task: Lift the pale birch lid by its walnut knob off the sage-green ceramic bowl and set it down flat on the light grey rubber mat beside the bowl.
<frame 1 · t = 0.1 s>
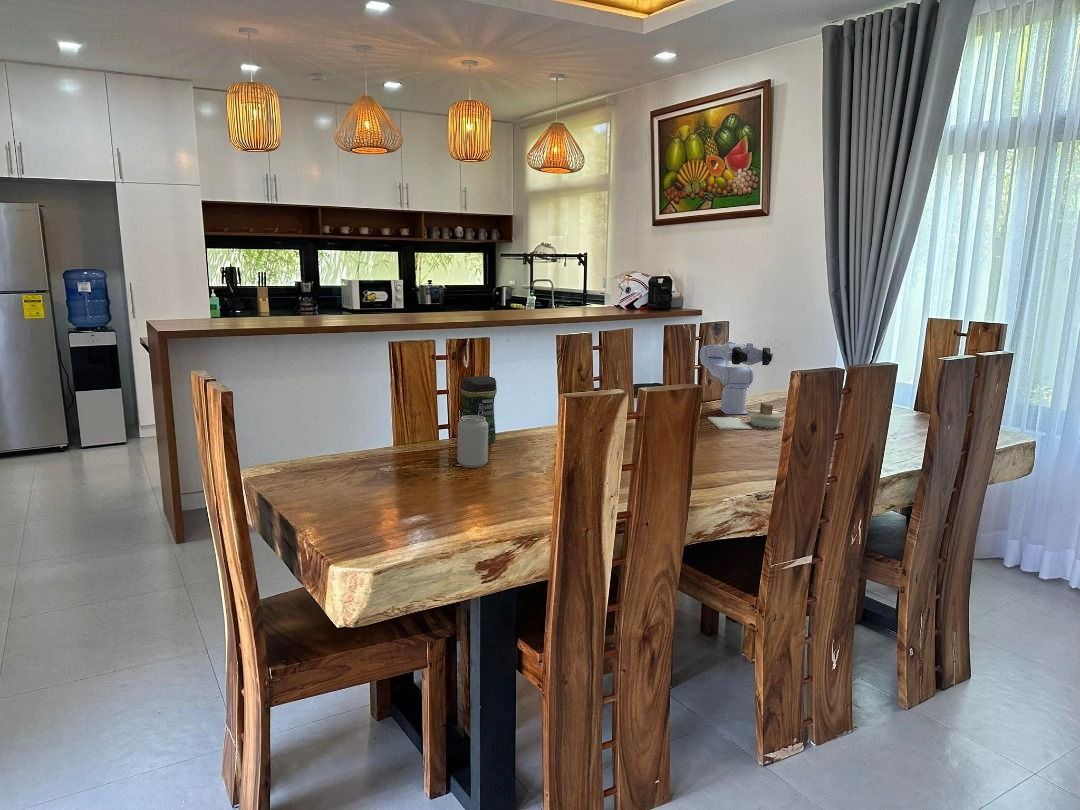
hand: (758, 357, 227), 22 cm above the table, tool horizontal, fingers open, 7 cm apart
bowl: (764, 424, 233), on the table
mat: (729, 424, 233), on the table
coffee jar: (477, 443, 202), on the table
can: (472, 465, 182), on the table
lid: (765, 415, 232), point 3 cm above the table, touching bowl
ice cream bowl: (840, 439, 218), on the table
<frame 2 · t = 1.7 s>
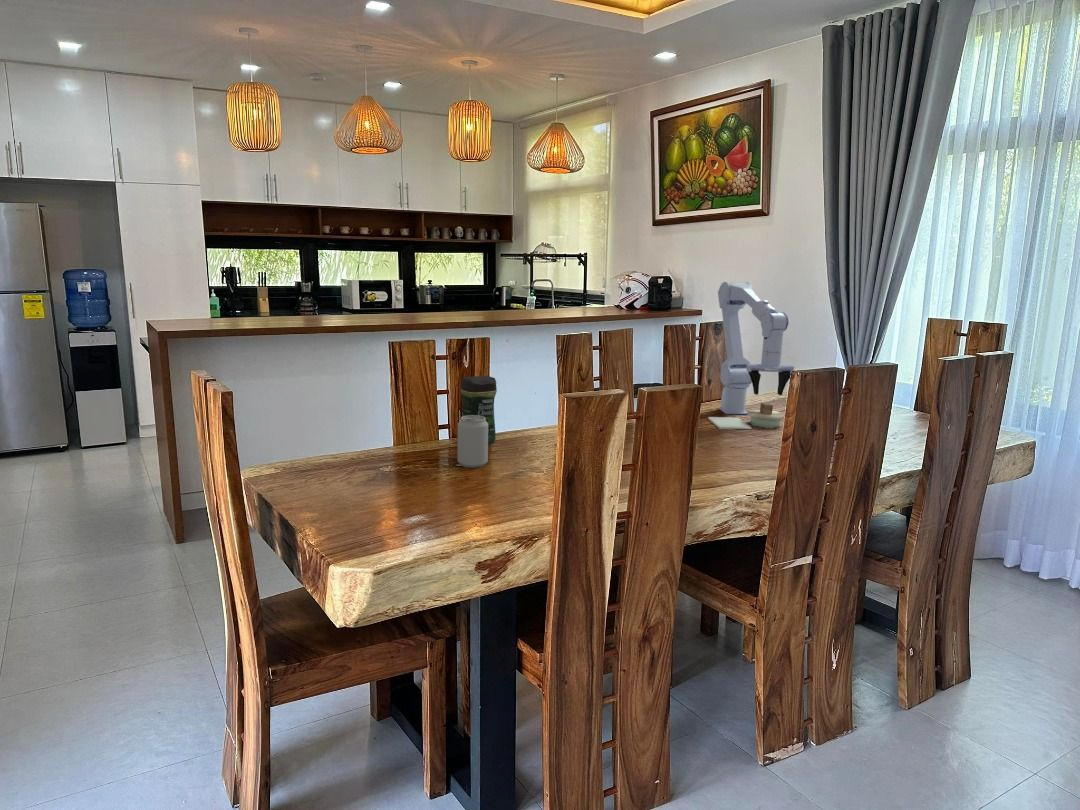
hand: (767, 394, 231), 10 cm above the table, tool pointing down, fingers open, 7 cm apart
nothing on the table moved.
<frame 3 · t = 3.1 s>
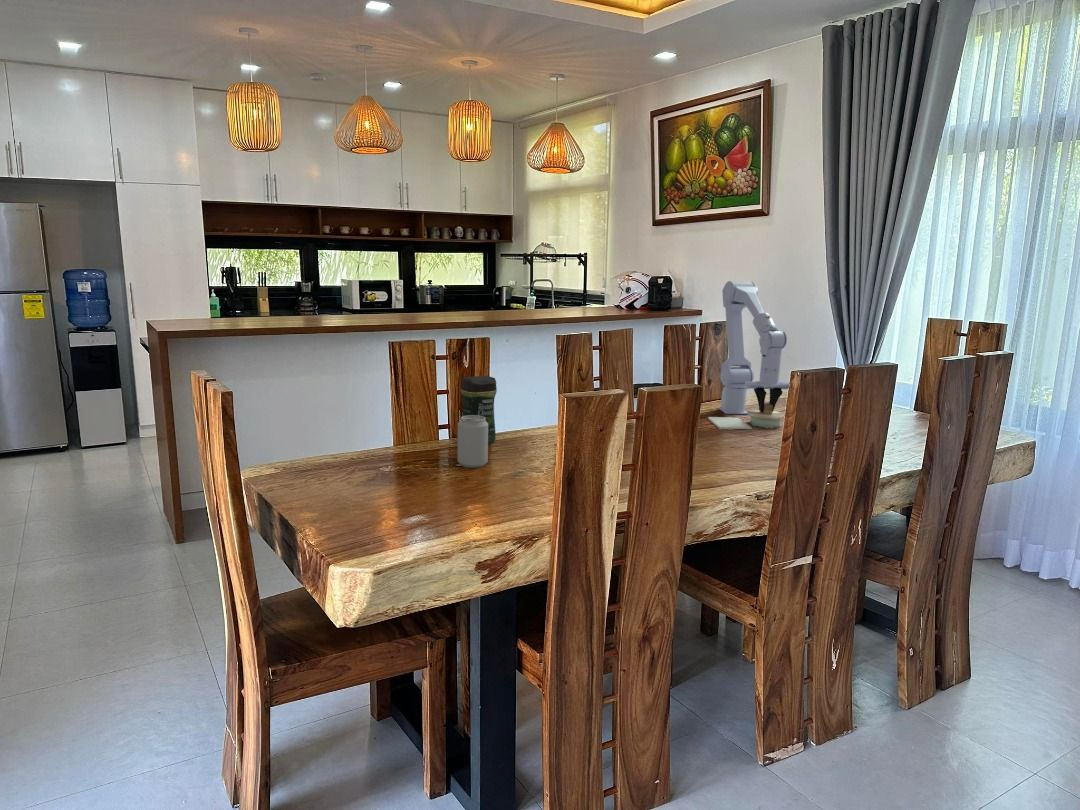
hand: (766, 411, 232), 4 cm above the table, tool pointing down, fingers closed on lid, 2 cm apart
lid: (765, 415, 232), point 3 cm above the table, touching bowl, gripper
everything else where it was.
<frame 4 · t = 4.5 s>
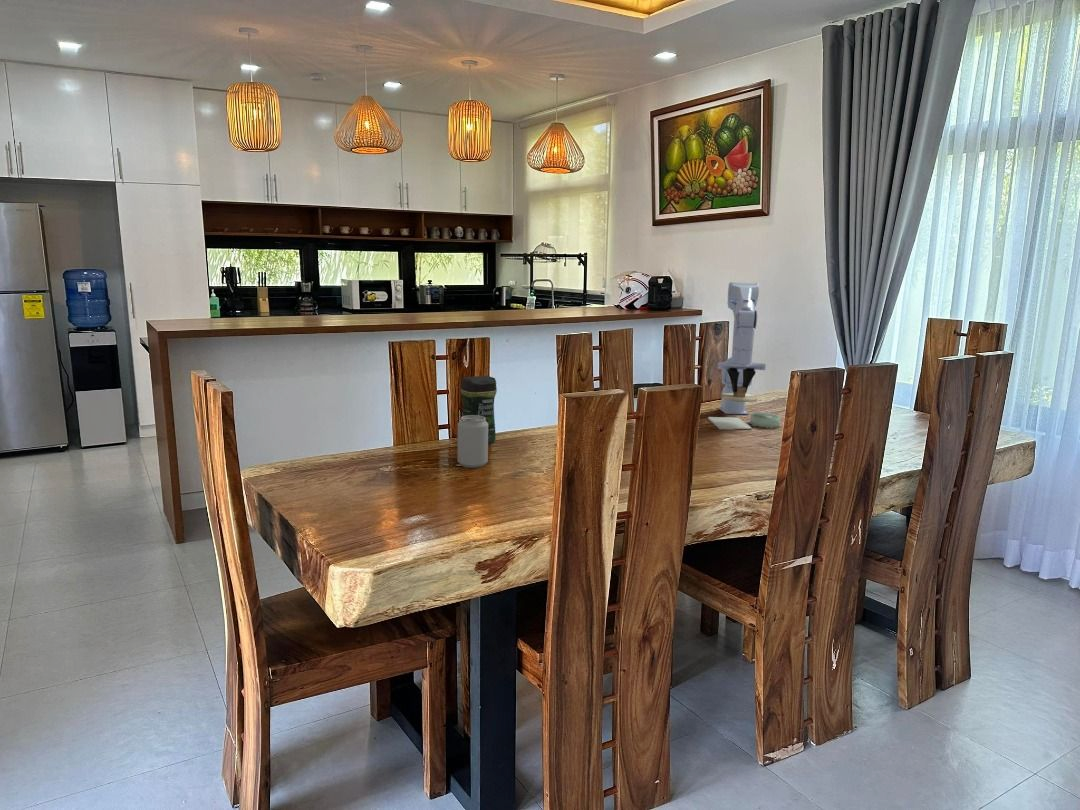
hand: (739, 392, 230), 10 cm above the table, tool pointing down, fingers closed on lid, 2 cm apart
lid: (738, 398, 231), point 8 cm above the table, touching gripper
everything else where it was.
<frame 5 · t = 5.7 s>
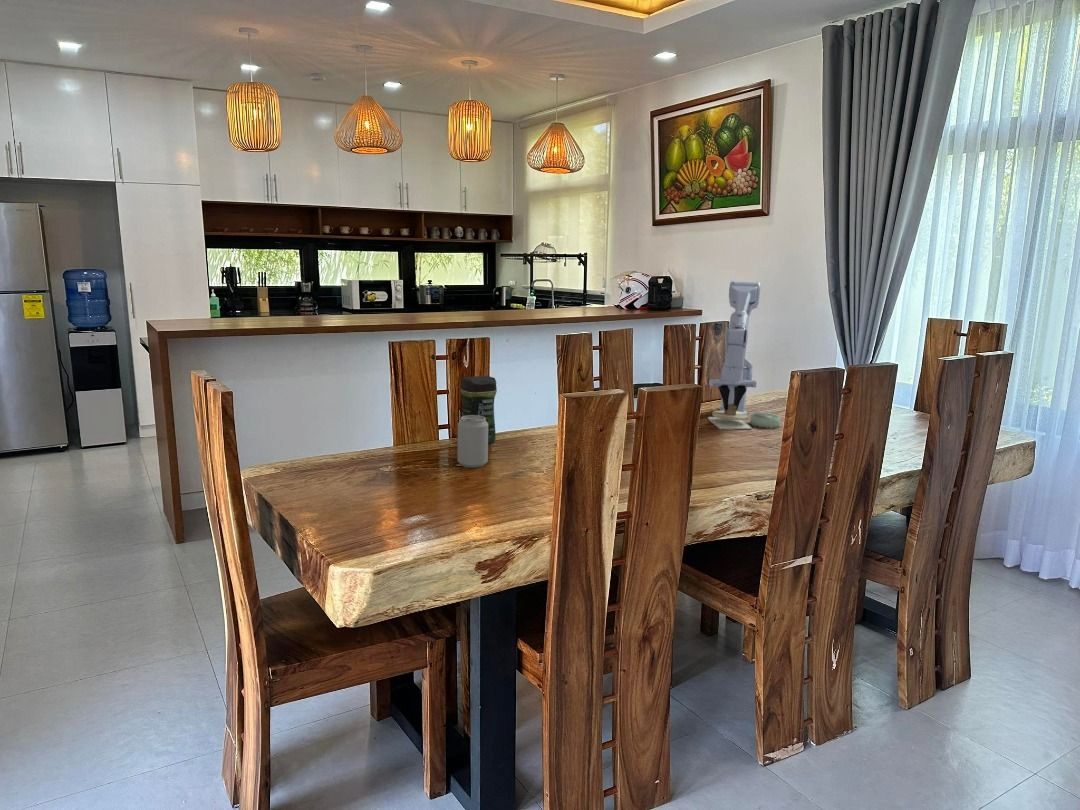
hand: (730, 409, 231), 5 cm above the table, tool pointing down, fingers closed on lid, 2 cm apart
lid: (729, 416, 232), point 3 cm above the table, touching gripper
everything else where it was.
when the fingers open (3 cm above the table, at t = 6.3 s): lid stays where it is, resting on mat.
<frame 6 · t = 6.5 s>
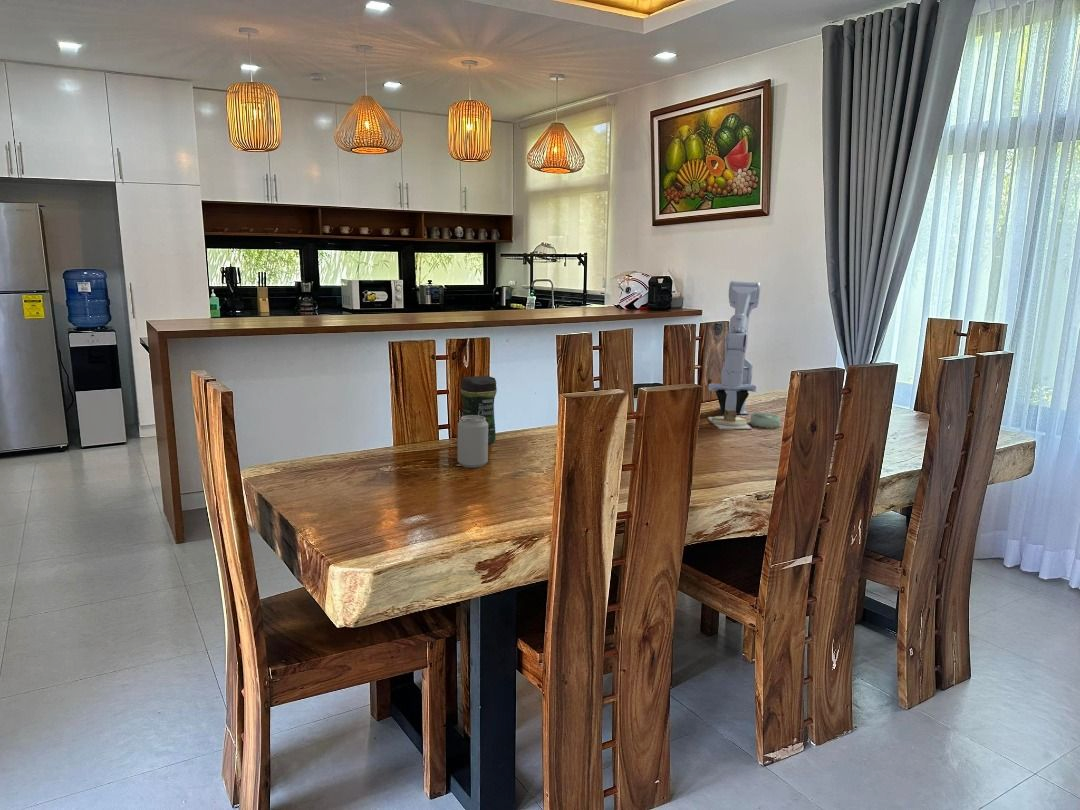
hand: (730, 413, 232), 4 cm above the table, tool pointing down, fingers open, 4 cm apart
lid: (729, 422, 232), point 1 cm above the table, touching mat
everything else where it was.
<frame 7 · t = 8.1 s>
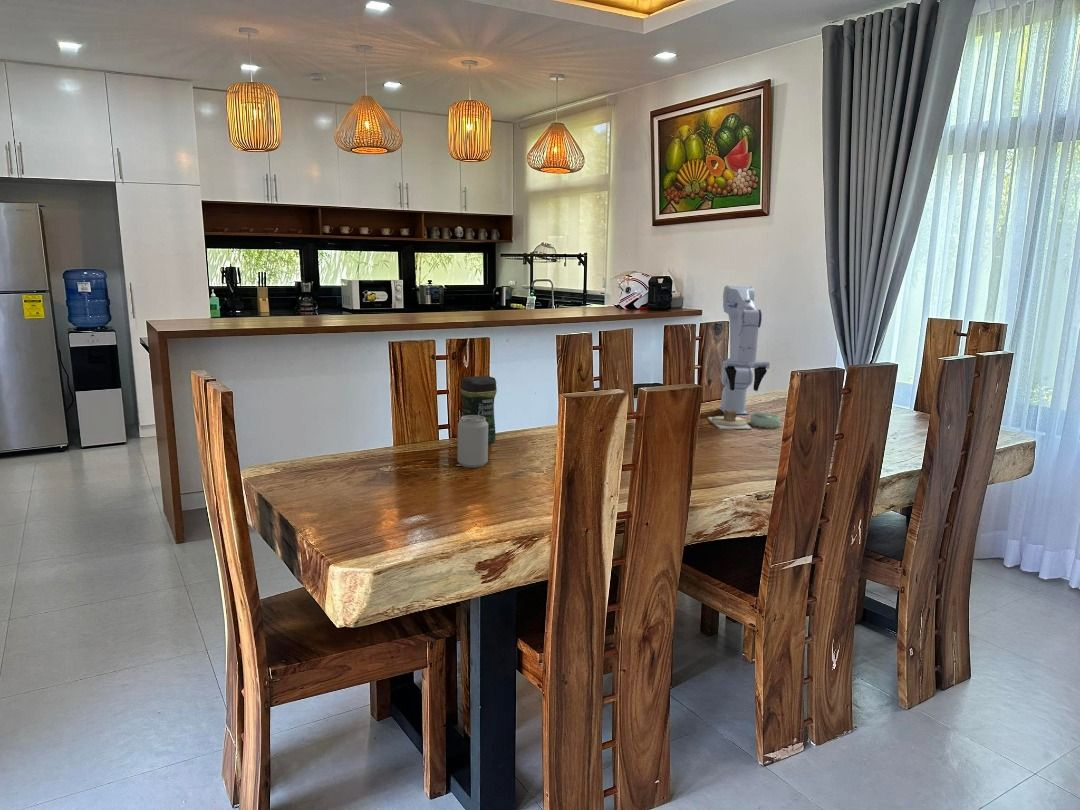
hand: (743, 390, 234), 10 cm above the table, tool pointing down, fingers open, 7 cm apart
nothing on the table moved.
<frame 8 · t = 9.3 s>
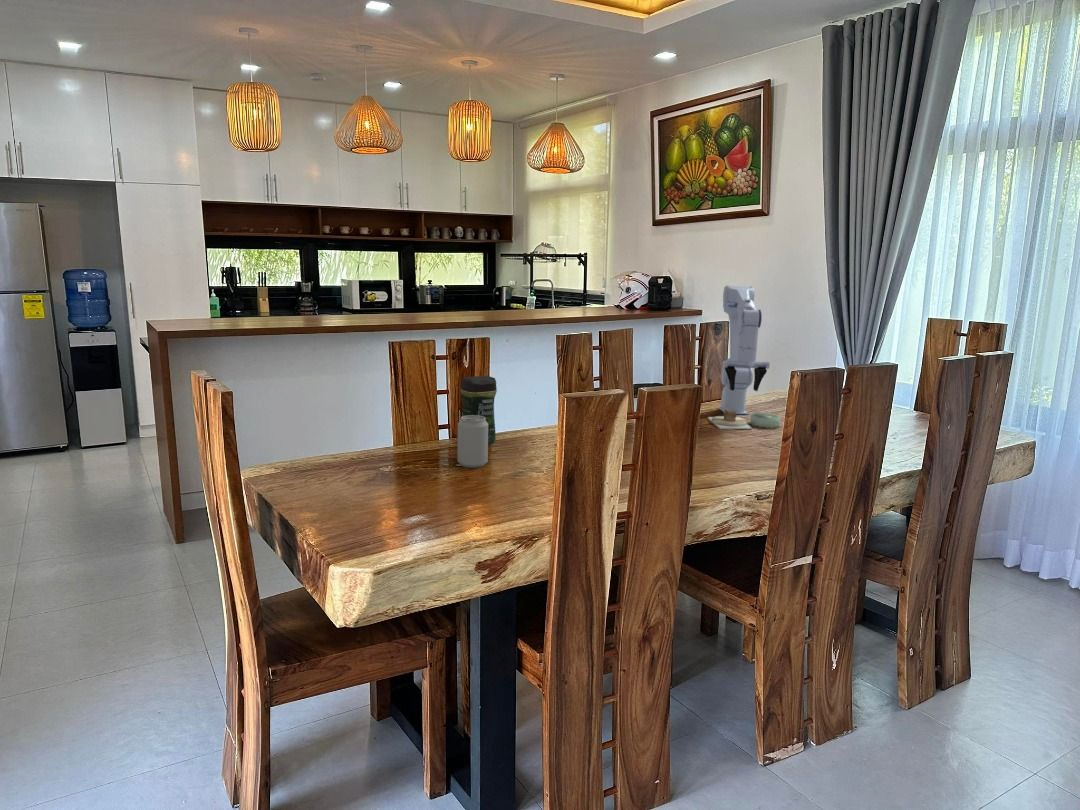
hand: (743, 390, 234), 10 cm above the table, tool pointing down, fingers open, 7 cm apart
nothing on the table moved.
at the end: lid inside the target area on the mat (0.0 cm from its centre), point 0.6 cm above the mat's base; lid tilted 0°; the gripper is holding nothing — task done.
